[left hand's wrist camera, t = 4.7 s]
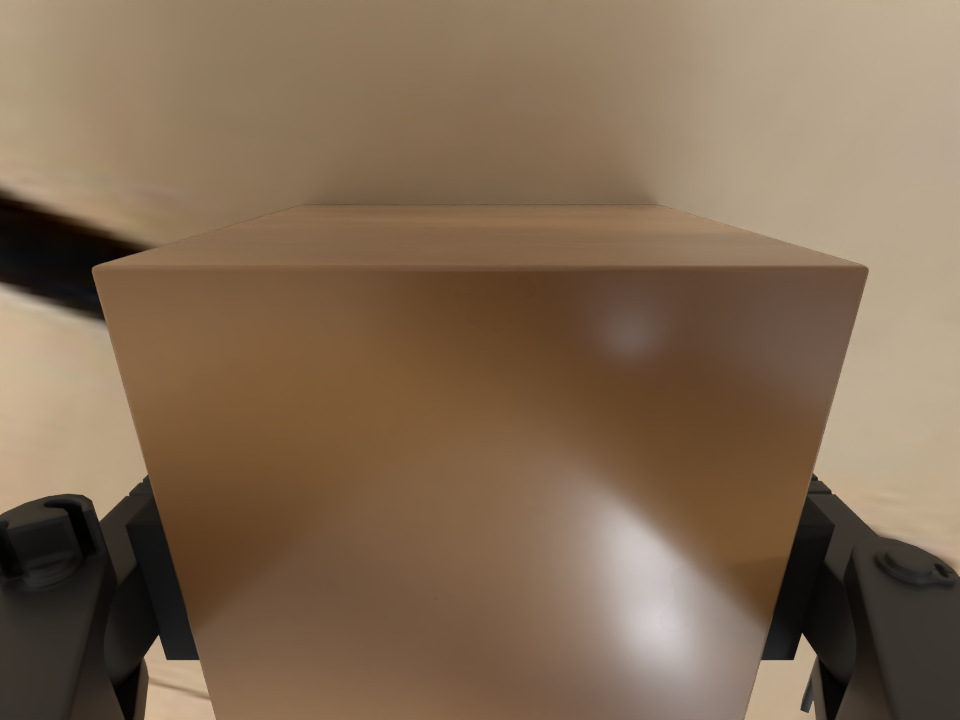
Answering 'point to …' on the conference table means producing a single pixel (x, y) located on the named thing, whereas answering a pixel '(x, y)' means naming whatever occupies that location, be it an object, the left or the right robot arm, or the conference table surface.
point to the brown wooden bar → (480, 453)
